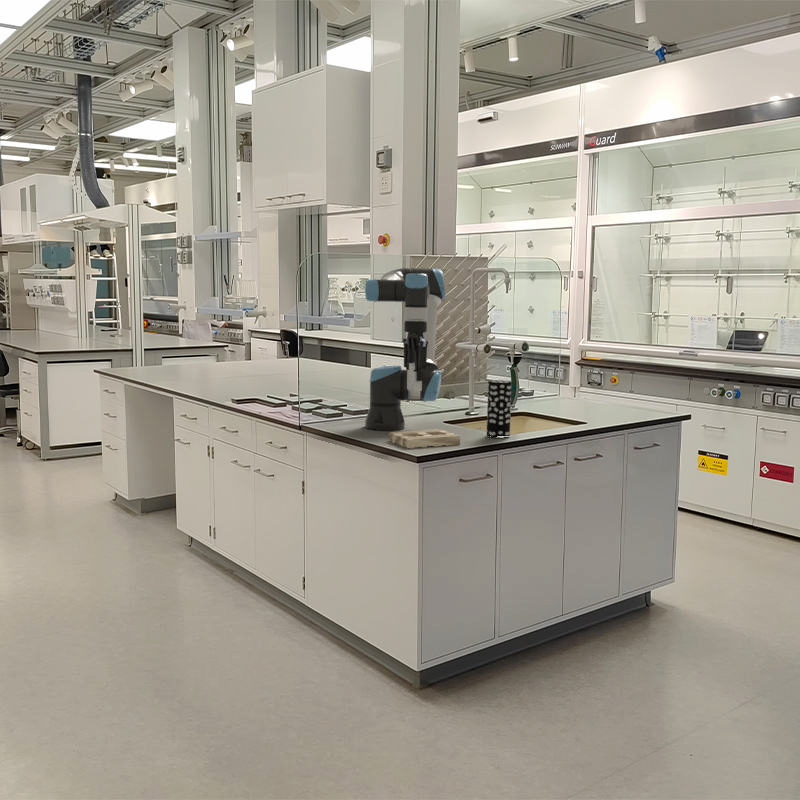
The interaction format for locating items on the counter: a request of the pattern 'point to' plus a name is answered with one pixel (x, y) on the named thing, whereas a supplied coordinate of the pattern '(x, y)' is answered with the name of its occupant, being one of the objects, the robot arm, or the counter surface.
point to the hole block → (424, 438)
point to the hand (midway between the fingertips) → (414, 389)
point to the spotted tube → (499, 408)
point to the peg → (412, 383)
